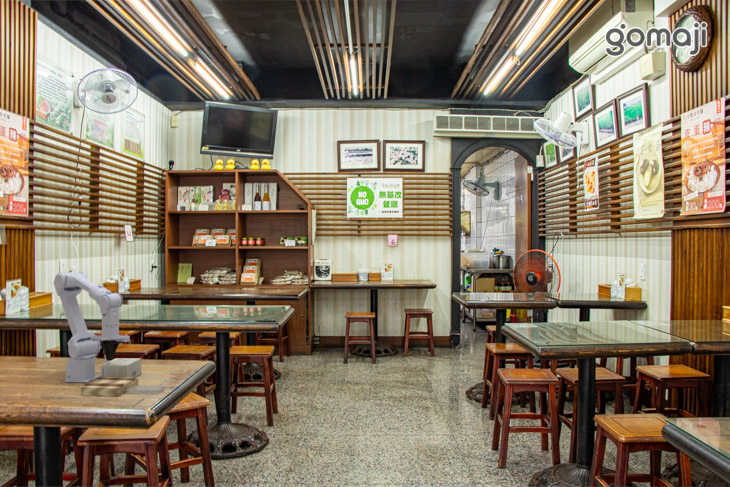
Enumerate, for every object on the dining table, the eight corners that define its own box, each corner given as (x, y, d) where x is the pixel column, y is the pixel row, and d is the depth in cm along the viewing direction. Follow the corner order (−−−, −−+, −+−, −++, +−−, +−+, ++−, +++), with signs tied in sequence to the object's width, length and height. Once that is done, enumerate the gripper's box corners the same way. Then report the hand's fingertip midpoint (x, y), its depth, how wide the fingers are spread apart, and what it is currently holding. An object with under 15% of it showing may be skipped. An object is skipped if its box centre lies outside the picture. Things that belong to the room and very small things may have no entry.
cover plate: (124, 395, 157) (124, 389, 157) (132, 390, 162) (132, 385, 162) (157, 395, 157) (157, 390, 157) (164, 390, 162) (164, 385, 162)
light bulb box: (142, 373, 181) (116, 373, 182) (141, 357, 181) (116, 357, 182) (127, 381, 171) (100, 381, 171) (127, 364, 171) (100, 364, 171)
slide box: (80, 395, 155) (80, 385, 155) (103, 385, 167) (103, 375, 167) (118, 396, 154) (118, 386, 154) (138, 386, 166) (138, 376, 166)
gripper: (85, 326, 164) (84, 362, 164) (122, 327, 163) (121, 363, 163) (97, 323, 171) (97, 357, 171) (133, 323, 170) (132, 358, 170)
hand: (110, 360), depth 168 cm, fingers closed
